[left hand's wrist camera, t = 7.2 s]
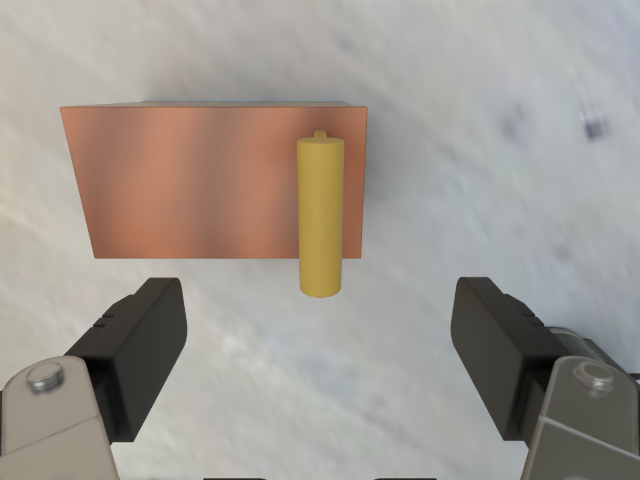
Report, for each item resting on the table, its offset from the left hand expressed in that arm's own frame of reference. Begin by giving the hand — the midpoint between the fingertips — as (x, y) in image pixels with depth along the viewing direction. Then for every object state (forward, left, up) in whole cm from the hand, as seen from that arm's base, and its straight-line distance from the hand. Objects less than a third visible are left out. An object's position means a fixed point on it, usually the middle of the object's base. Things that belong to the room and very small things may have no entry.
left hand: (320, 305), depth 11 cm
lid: (+6, 0, -16) cm, 17 cm away
